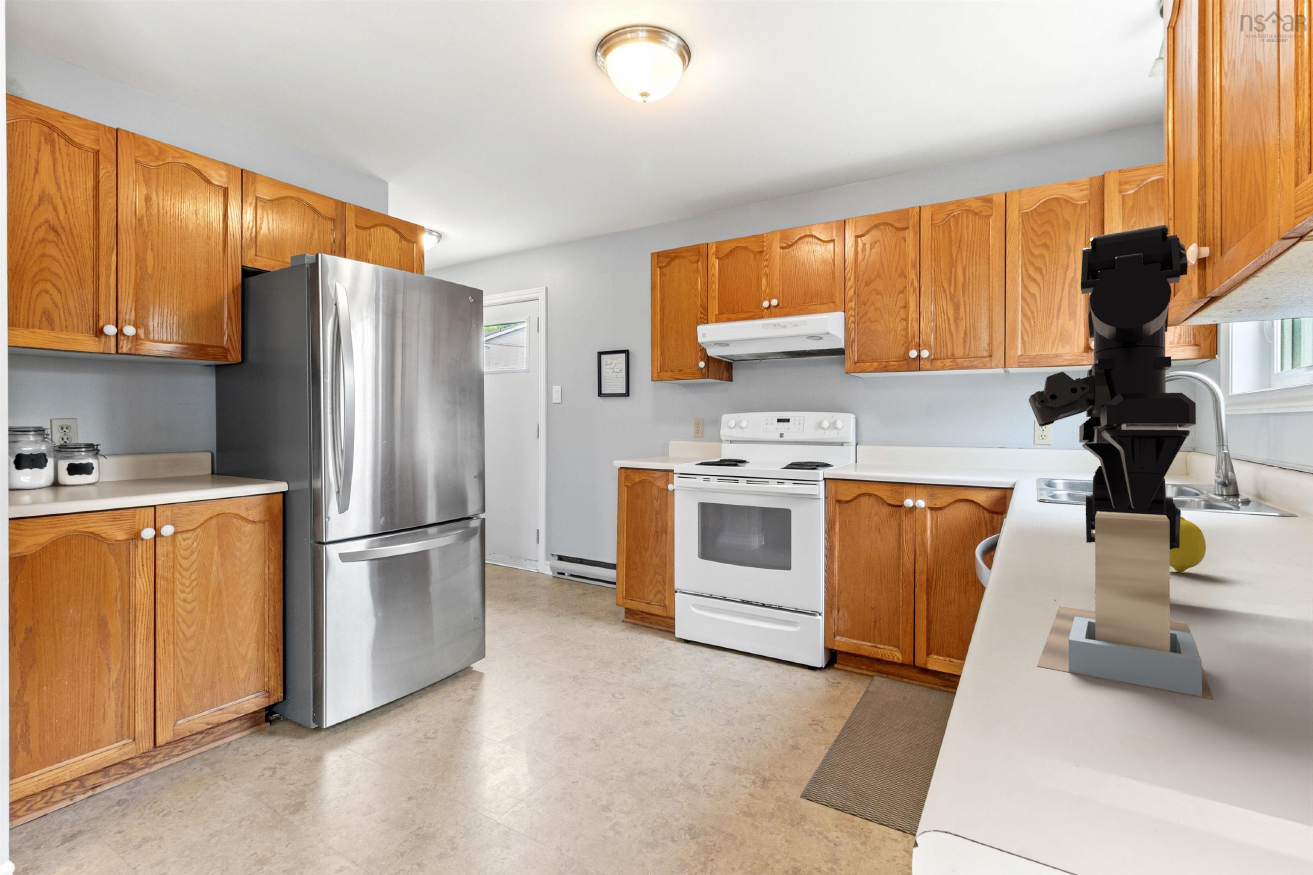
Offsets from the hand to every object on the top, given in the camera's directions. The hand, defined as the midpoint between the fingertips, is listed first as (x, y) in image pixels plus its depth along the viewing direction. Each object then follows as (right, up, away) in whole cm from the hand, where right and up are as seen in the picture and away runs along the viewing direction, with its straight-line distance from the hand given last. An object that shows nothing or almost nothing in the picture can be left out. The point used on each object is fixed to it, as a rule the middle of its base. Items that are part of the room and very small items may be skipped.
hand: (1129, 508), depth 61 cm
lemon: (+28, -13, +28) cm, 42 cm away
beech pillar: (-9, -11, -12) cm, 19 cm away
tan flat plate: (-5, -12, -6) cm, 15 cm away
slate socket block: (-9, -11, -12) cm, 19 cm away
